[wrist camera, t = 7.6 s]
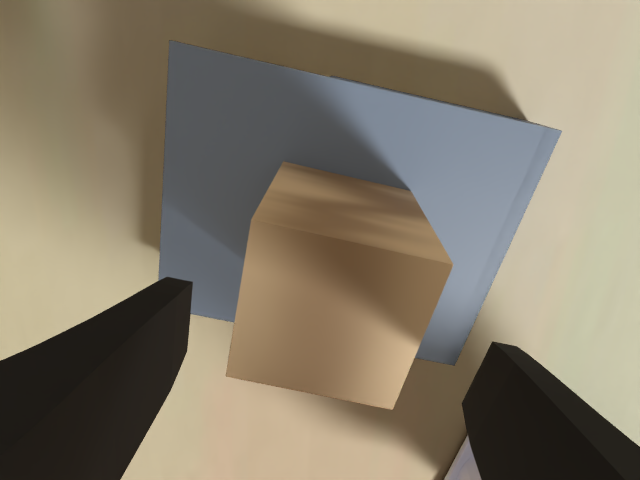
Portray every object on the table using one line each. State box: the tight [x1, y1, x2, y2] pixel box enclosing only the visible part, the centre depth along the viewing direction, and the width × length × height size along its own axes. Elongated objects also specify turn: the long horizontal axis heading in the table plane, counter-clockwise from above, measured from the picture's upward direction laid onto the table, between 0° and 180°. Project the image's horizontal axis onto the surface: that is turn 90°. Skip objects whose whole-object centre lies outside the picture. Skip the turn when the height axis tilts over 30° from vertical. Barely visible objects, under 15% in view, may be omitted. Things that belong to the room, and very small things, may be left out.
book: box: [159, 40, 562, 366], centre depth 17 cm, size 14×11×3 cm
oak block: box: [226, 161, 454, 410], centre depth 13 cm, size 5×5×6 cm
